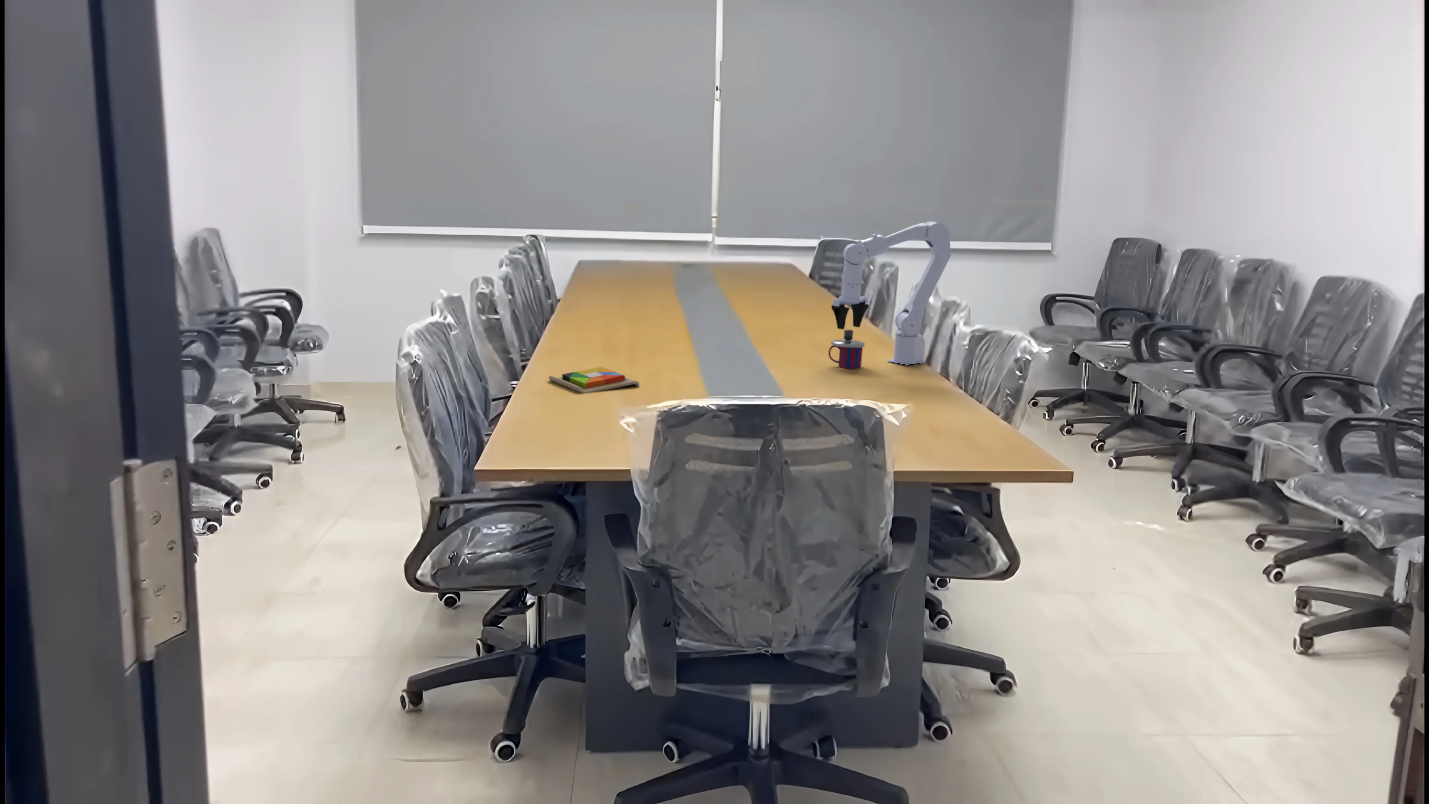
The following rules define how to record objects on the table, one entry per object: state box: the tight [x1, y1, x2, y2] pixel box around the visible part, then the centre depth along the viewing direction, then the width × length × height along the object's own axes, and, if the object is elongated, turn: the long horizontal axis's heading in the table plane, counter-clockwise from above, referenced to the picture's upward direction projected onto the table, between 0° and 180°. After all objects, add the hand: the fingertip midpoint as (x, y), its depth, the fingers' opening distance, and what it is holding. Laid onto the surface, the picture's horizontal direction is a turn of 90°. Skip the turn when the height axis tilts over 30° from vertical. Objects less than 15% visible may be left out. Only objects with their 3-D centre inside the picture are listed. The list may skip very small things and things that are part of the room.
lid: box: [830, 329, 865, 348], centre depth 325 cm, size 10×10×4 cm
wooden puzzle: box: [548, 366, 640, 394], centre depth 290 cm, size 18×19×4 cm
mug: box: [828, 345, 863, 370], centre depth 327 cm, size 7×10×7 cm
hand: (848, 327), depth 334 cm, fingers open, 7 cm apart
